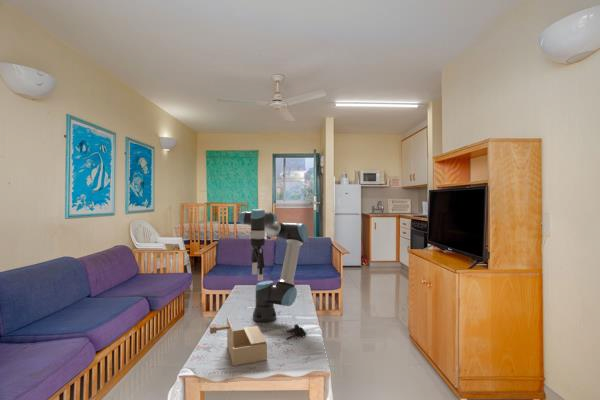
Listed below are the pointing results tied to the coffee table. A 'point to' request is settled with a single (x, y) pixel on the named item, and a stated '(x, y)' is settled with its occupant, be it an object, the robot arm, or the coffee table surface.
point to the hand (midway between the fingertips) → (257, 277)
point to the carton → (247, 346)
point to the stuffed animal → (296, 332)
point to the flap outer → (228, 327)
